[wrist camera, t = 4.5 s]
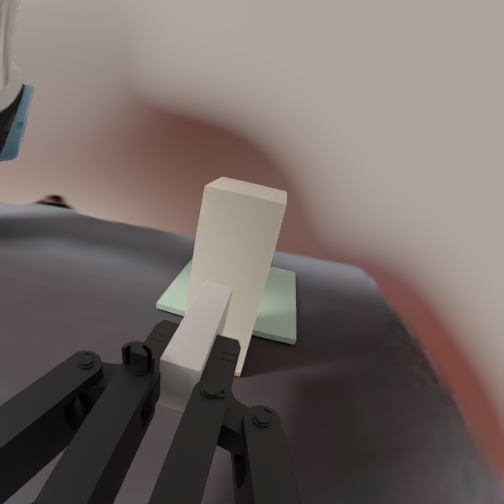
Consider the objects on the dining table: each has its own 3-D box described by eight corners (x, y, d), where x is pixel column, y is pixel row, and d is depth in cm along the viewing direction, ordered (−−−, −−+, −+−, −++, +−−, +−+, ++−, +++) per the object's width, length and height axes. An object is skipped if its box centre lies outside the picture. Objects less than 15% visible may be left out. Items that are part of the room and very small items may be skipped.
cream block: (179, 359, 23) (205, 185, 18) (196, 326, 28) (222, 176, 23) (239, 376, 23) (286, 204, 18) (247, 340, 27) (286, 191, 22)
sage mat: (156, 307, 29) (156, 302, 28) (199, 252, 44) (200, 248, 43) (294, 344, 28) (296, 339, 28) (294, 276, 43) (295, 272, 43)
